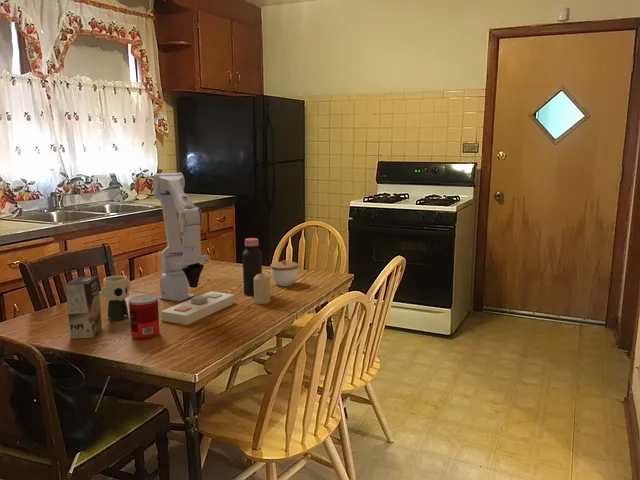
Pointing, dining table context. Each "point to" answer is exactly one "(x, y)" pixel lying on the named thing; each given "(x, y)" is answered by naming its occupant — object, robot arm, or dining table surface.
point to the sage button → (214, 295)
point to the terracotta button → (183, 309)
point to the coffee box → (84, 307)
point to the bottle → (251, 264)
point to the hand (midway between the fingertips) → (193, 287)
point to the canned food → (144, 317)
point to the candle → (261, 289)
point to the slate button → (199, 300)
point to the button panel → (197, 309)
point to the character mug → (116, 295)
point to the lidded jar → (284, 272)
